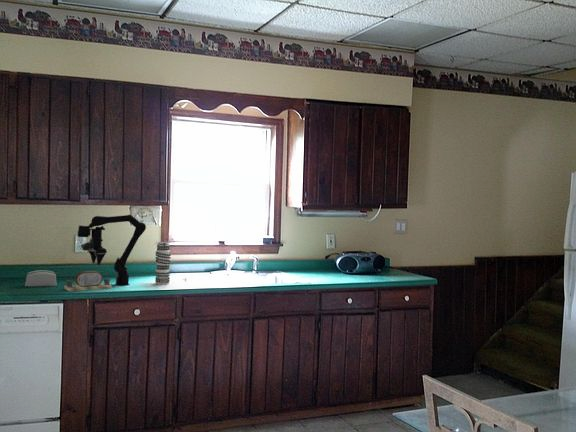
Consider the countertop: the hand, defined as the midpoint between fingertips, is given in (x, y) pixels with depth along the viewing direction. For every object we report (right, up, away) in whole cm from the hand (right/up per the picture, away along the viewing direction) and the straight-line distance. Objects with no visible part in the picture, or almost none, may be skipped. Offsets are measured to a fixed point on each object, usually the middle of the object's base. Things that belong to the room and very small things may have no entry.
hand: (95, 264), depth 365 cm
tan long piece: (0, -13, -14) cm, 19 cm away
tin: (0, -12, -14) cm, 18 cm away
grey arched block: (-28, -12, -10) cm, 32 cm away
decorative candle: (+36, -13, +13) cm, 40 cm away
